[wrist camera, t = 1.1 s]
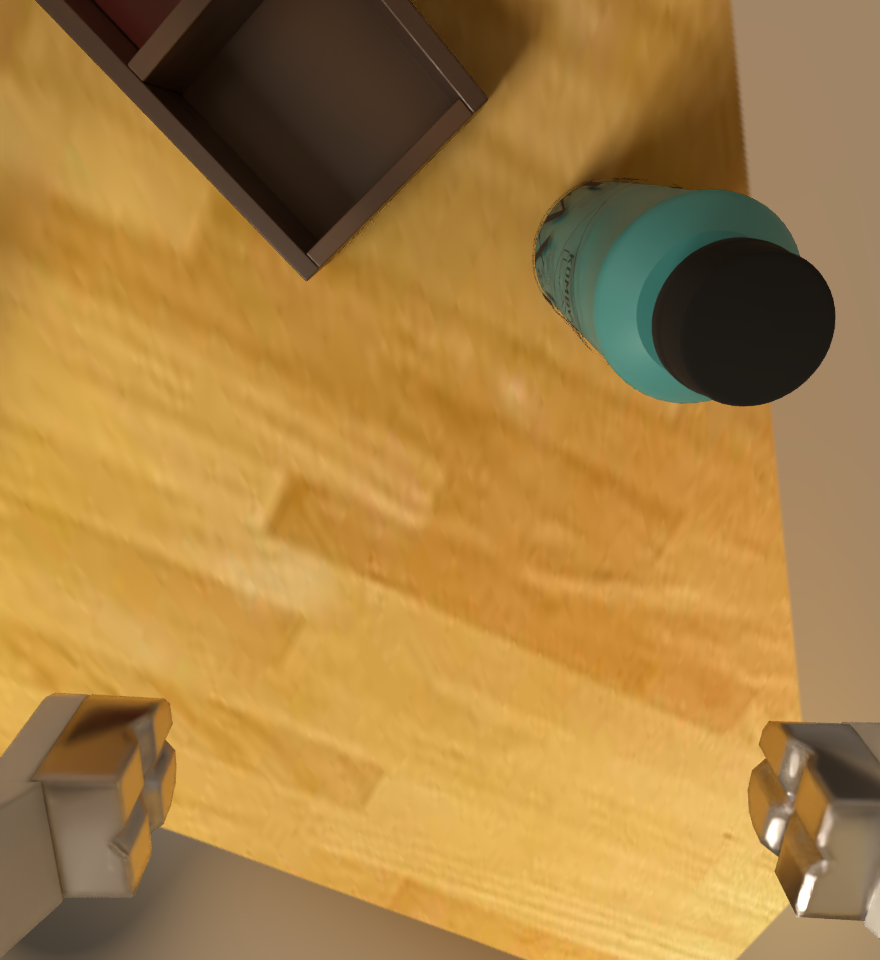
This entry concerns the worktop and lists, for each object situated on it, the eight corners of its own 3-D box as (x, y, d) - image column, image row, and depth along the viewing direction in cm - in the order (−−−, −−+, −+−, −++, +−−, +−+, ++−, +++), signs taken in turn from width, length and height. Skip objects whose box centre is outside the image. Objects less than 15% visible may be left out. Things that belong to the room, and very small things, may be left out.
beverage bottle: (623, 149, 35) (842, 120, 17) (683, 276, 37) (936, 376, 19) (500, 226, 36) (575, 280, 18) (565, 345, 38) (692, 504, 20)
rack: (142, -307, 29) (79, -412, 24) (480, 110, 34) (489, 98, 29) (-16, -91, 31) (-104, -143, 26) (323, 267, 37) (306, 282, 32)
